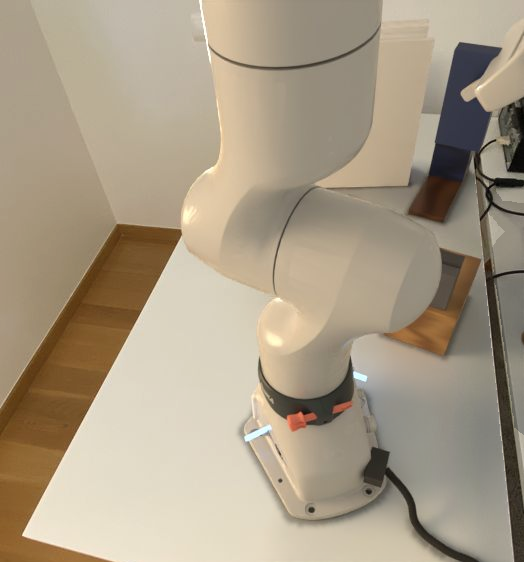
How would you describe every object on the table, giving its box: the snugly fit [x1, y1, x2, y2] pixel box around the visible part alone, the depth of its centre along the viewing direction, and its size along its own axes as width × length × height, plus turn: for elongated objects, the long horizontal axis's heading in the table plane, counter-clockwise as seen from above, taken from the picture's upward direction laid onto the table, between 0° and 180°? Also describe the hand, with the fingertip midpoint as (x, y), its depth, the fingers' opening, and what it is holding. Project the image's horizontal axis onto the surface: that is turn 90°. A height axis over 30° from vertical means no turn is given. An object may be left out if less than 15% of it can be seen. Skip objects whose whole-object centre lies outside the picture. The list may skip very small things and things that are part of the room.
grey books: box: [429, 249, 465, 311], centre depth 71 cm, size 6×4×8 cm, turn 62°
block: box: [314, 18, 436, 189], centre depth 97 cm, size 35×8×28 cm, turn 86°
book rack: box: [407, 142, 475, 224], centre depth 96 cm, size 7×18×15 cm, turn 151°
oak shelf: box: [382, 246, 483, 357], centre depth 80 cm, size 10×14×9 cm
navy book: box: [434, 41, 502, 153], centre depth 73 cm, size 7×2×14 cm, turn 61°
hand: (467, 89), depth 73 cm, fingers closed on navy book, 2 cm apart
